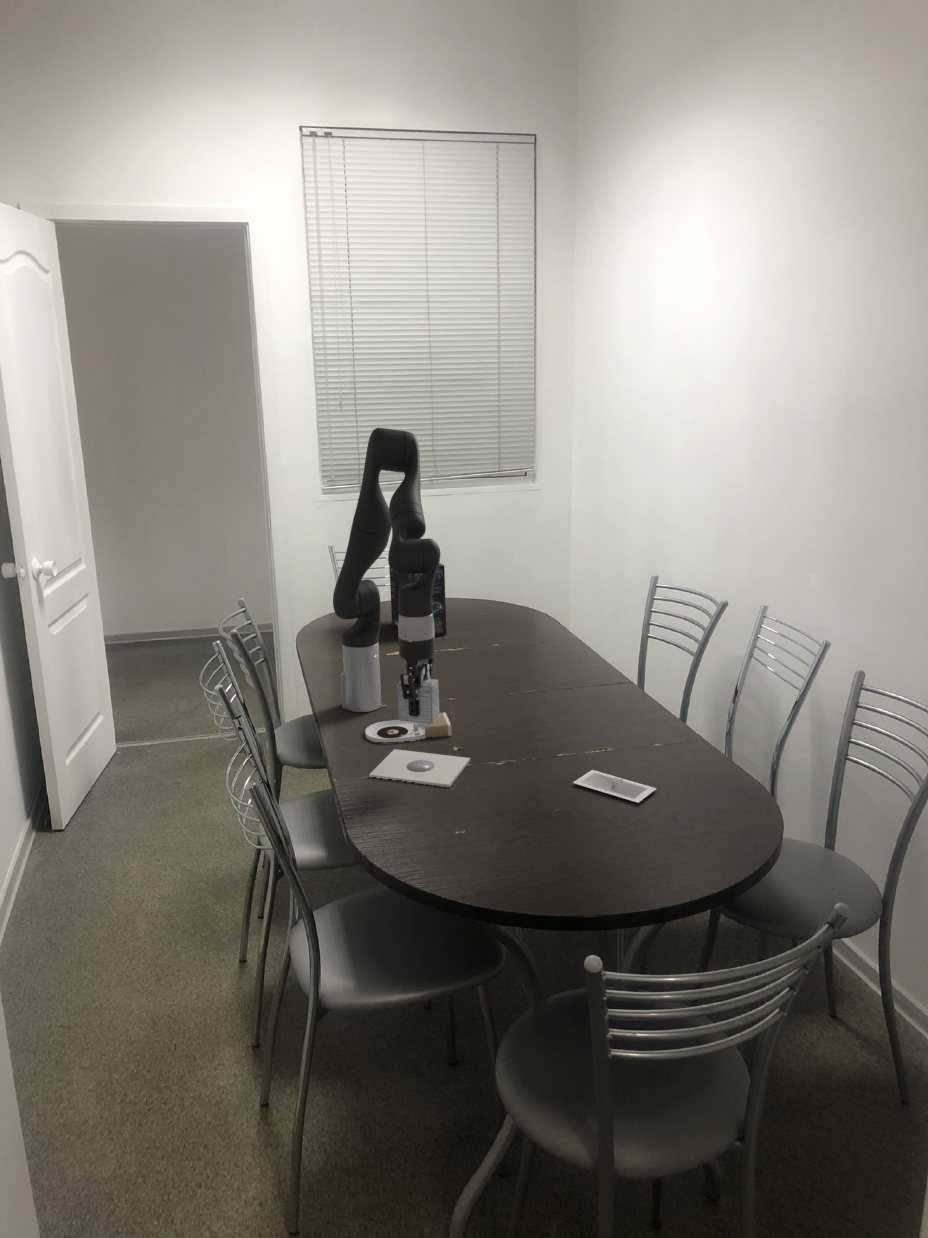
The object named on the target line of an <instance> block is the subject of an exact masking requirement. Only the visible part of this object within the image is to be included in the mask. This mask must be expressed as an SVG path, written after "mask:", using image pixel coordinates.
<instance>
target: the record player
mask: <svg viewBox="0 0 928 1238" xmlns="http://www.w3.org/2000/svg"><path fill="white" fill-rule="evenodd" d="M448 717H449V716H448V714H447V713H446V712H439V718H438V719H437V720H436V721H435V723H434V724H430V723H418V722H406V721H399V719H393V720H391V719H390V720H384V721H379V722H375V723H372V724H370V725H369V726H367V727H366V728H365V731H364V734H365V738H366V739H368V740H369V741H371V742H374V743H377V742H385V743H384V744H387V743H386V742H399V743H405V742H404V741H410V742H416V740H418V741H421V740H420V739H422V740H424V739H428V738H427V737H432V738H441V737H442V738H443V737H452V724H451V722H450V719H449V718H448Z"/></svg>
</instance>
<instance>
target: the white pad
mask: <svg viewBox="0 0 928 1238" xmlns="http://www.w3.org/2000/svg"><path fill="white" fill-rule="evenodd" d="M470 762H471V758H470V757H463V756H455V755H447V754H438V753H429V752H422V751H413V750H404V749H397V748H396V749H395V748H394V749H393V750H392V751H390V753H389V754H388V755H387V756H386V757H384V759H383V760H382V761H381V762H380V763H379V764H378V765H377V766H376V767H375V768H374V769H373V770H372V771H371V772H370V773H369V774H368V775H369V776H368V777H369V778H373V777H376V778H375V779H380V778H382V780H388V779H392V781H396V780H402V781H401V782H404V781H407V782H406V783H411V782H415V783H414V784H419V785H420V784H422V785H427V784H428V786H435V785H436V787H443V788H444V787H445V788H450V787H451V786H452V785H453V784H454V782H455V781H456V780H457V779H458V777H460V774H461V773H462V772H463V771H464V769H465V768H466V767H467V766H468V764H469V763H470Z"/></svg>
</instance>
